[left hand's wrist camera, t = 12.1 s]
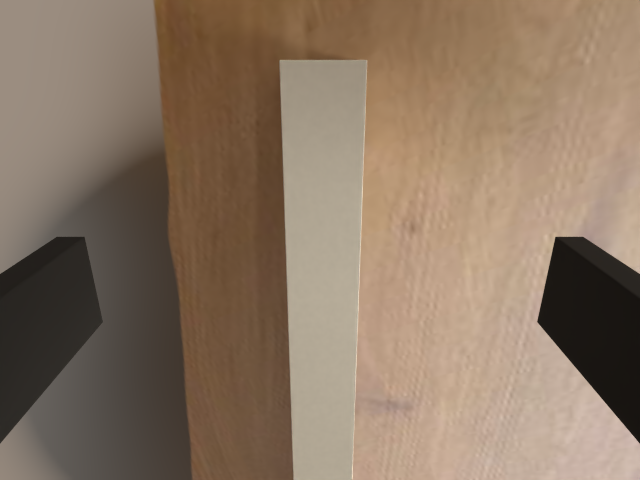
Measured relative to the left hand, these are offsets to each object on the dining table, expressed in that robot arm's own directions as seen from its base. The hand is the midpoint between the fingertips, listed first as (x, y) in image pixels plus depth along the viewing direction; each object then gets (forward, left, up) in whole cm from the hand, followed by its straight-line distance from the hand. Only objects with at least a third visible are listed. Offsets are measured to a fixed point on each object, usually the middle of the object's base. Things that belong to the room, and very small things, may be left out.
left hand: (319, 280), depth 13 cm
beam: (+31, +7, -24) cm, 40 cm away
